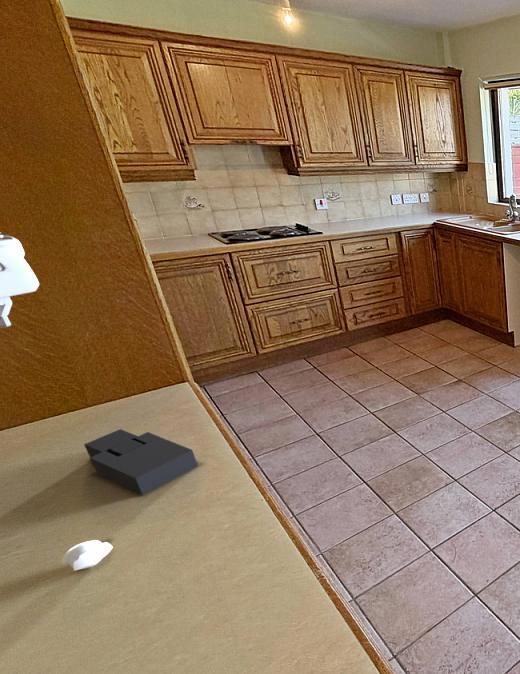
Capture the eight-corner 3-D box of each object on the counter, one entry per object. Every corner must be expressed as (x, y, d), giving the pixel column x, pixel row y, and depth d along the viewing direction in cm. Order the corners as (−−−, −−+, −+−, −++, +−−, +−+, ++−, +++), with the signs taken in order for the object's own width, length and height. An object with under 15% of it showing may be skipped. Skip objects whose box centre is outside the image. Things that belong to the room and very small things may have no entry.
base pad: (97, 475, 78) (89, 457, 77) (154, 448, 85) (147, 431, 83) (142, 496, 74) (135, 478, 73) (198, 466, 81) (192, 449, 80)
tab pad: (91, 461, 81) (83, 444, 79) (127, 445, 85) (120, 428, 84) (121, 474, 78) (114, 457, 77) (157, 457, 83) (150, 441, 81)
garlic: (70, 584, 60) (119, 561, 64) (63, 564, 59) (113, 542, 62) (58, 563, 62) (106, 542, 66) (51, 545, 61) (100, 524, 65)
